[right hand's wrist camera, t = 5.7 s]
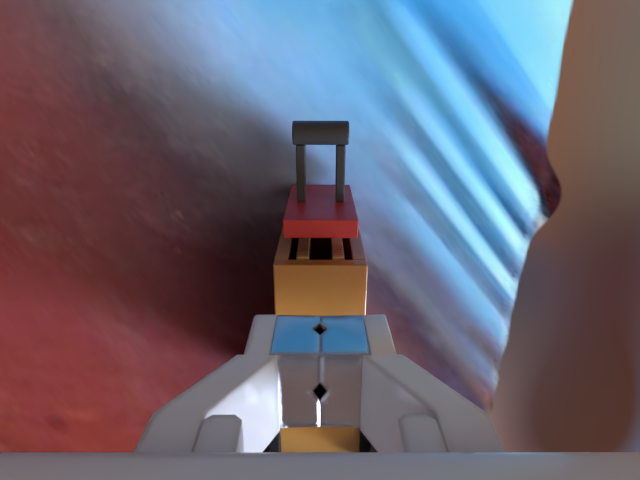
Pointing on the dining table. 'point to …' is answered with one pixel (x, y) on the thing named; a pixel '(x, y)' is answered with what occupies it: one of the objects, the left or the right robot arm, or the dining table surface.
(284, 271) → the cabinet
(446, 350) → the dining table surface
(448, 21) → the dining table surface
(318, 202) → the drawer
